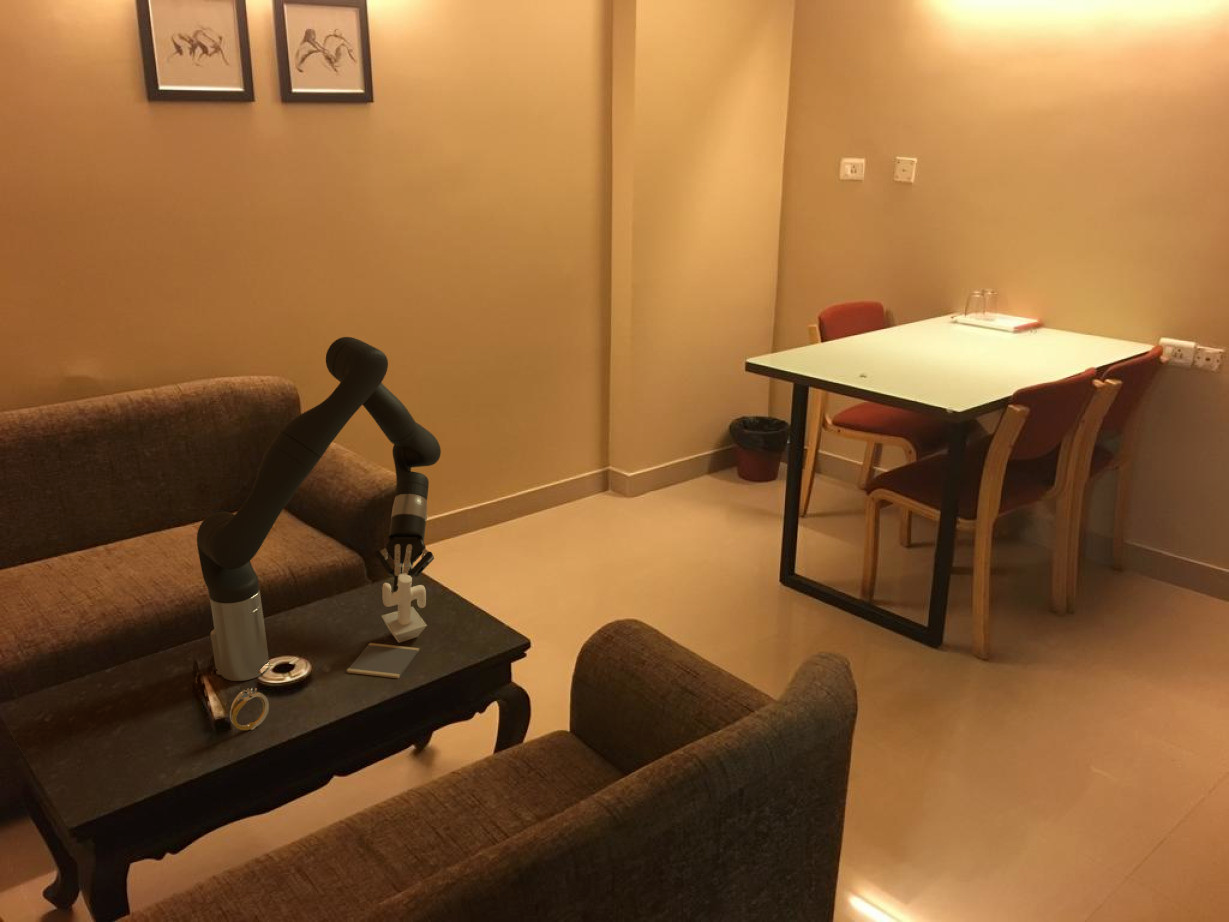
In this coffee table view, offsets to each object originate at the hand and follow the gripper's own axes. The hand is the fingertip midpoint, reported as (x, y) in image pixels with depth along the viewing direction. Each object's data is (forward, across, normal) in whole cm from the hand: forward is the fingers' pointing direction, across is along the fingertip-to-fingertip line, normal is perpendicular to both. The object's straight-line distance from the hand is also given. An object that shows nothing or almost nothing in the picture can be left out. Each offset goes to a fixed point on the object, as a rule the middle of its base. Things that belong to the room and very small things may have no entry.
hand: (400, 594), depth 207 cm
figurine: (+7, 0, +7) cm, 10 cm away
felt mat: (+14, -2, 0) cm, 14 cm away
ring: (+31, -20, -17) cm, 41 cm away
